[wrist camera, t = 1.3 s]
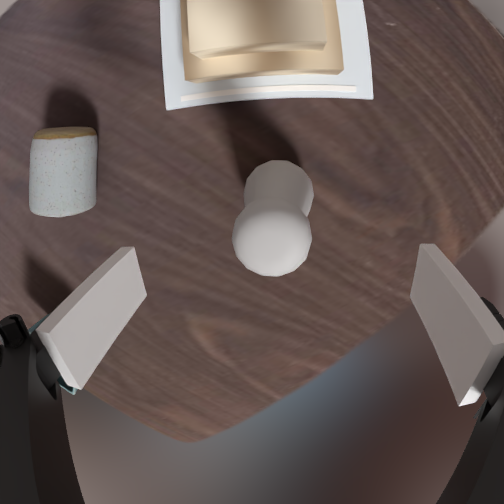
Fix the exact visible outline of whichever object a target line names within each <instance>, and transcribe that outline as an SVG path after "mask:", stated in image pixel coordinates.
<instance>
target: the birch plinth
mask: <svg viewBox="0 0 504 504" xmlns="http://www.w3.org/2000/svg"><path fill="white" fill-rule="evenodd" d="M180 9H181V31H182V48H183V63H184V76H185V80H186V81H189V82H193V83H196V84H197V83H203V82H210V81H218V80H226V79H235V78H245V77H257V76H272V75H303V74H320V75H338V74H339V73H341V72H342V71H343V70H344V64H343V53H342V44H341V35H340V27H339V19H338V12H337V5H336V0H180Z"/></svg>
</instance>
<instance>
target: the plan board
mask: <svg viewBox="0 0 504 504" xmlns="http://www.w3.org/2000/svg"><path fill="white" fill-rule="evenodd" d="M336 5H337V12H338V19H339V27H340V35H341V44H342V53H343V64H344V70H343V71H342V72H341V73H339V74H338V75H320V74H303V75H272V76H257V77H245V78H235V79H226V80H218V81H210V82H203V83H197V84H196V83H193V82H189V81H186V80H185V76H184V63H183V48H182V31H181V9H180V0H160V22H161V45H162V62H163V77H164V89H165V101H166V110H174V109H180V108H186V107H193V106H200V105H207V104H215V103H224V102H233V101H244V100H257V99H274V98H353V99H373V85H372V72H371V61H370V51H369V42H368V34H367V26H366V19H365V13H364V7H363V1H362V0H336Z"/></svg>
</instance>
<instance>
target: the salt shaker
mask: <svg viewBox="0 0 504 504" xmlns="http://www.w3.org/2000/svg"><path fill="white" fill-rule="evenodd" d="M313 197H314V194H313V188H312V182H311V180H310V178H309V177H308V176H307V174H306V173H305V172H304V171H303V169H302V168H300V167H299V166H297V165H295V164H293V163H291V162H289V161H283V160H271V161H268V162H266V163H264V164H262V165H260V166H257V167H256V168H255V169H254V171H253V172H252V173H251V174H250V176H249V177H248V178H247V181H246V185H245V190H244V204H245V208H244V210H243V211H242V212H241V213H240V215H239V216H238V217H237V219H236V220H235V225H234V230H233V234H232V243H233V246H234V249H235V253H236V256H237V257H238V259H239V260H240V261H241V262H242V263H243V264H244V265H245V267H246V268H247V269H249V270H251V271H254V272H256V273H258V274H260V275H263V276H281V275H284V274H287V273H289V272H292V271H294V270H295V269H296V268H297V267H298V266H300V265H301V264H302V263H303V262H304V261H305V260H306V257H307V254H308V251H309V248H310V245H311V241H312V236H311V229H310V223H309V220H308V218H307V216H308V213H309V211H310V208H311V204H312V200H313Z"/></svg>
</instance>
